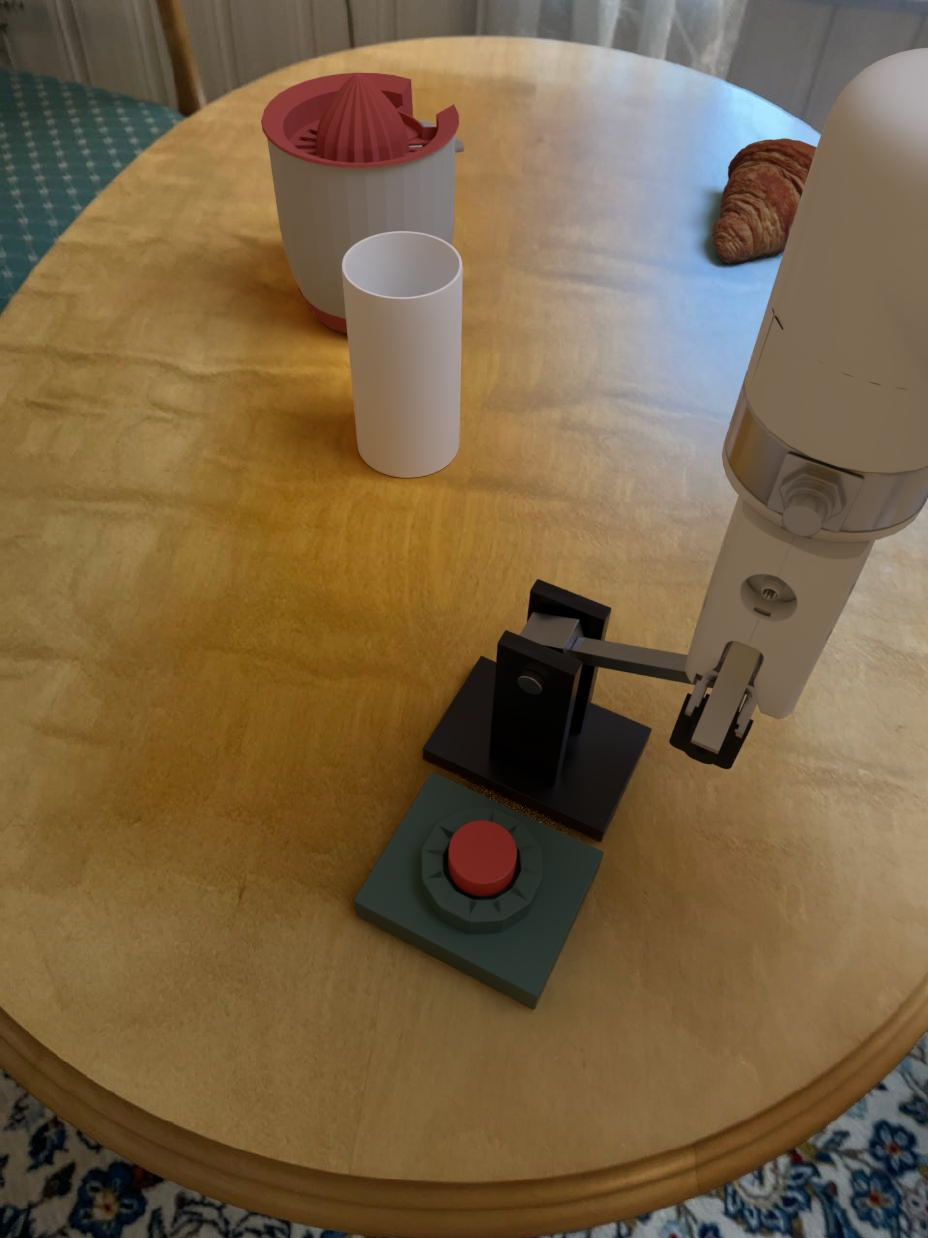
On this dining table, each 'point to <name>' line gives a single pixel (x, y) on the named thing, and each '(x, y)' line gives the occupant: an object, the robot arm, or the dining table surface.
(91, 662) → the dining table surface
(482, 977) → the button box
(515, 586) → the dining table surface
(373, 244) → the cup
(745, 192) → the pastry
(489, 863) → the button
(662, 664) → the lever
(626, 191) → the dining table surface
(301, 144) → the citrus juicer
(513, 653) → the bracket
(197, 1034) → the dining table surface
